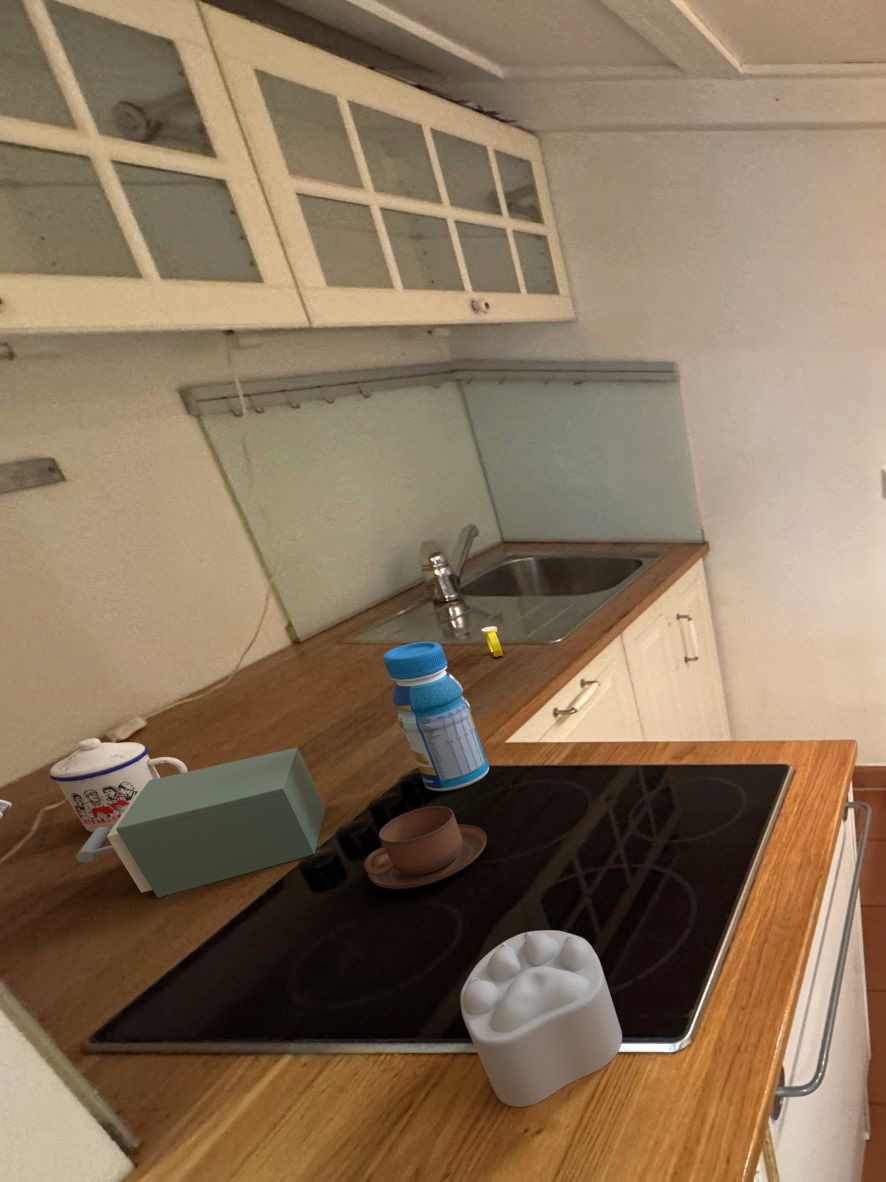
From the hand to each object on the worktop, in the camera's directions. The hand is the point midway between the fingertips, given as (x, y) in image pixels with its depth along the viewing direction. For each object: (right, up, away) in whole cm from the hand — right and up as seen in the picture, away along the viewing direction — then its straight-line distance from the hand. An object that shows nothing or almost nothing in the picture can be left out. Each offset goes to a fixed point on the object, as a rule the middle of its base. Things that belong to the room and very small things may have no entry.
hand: (4, 815), depth 84 cm
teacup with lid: (-7, -3, +22) cm, 23 cm away
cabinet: (+15, -6, +13) cm, 21 cm away
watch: (+10, +22, +73) cm, 77 cm away
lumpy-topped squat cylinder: (+68, -18, -16) cm, 72 cm away
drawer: (+12, -6, +10) cm, 17 cm away
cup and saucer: (+42, -7, +8) cm, 43 cm away
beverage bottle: (+32, +1, +27) cm, 42 cm away
